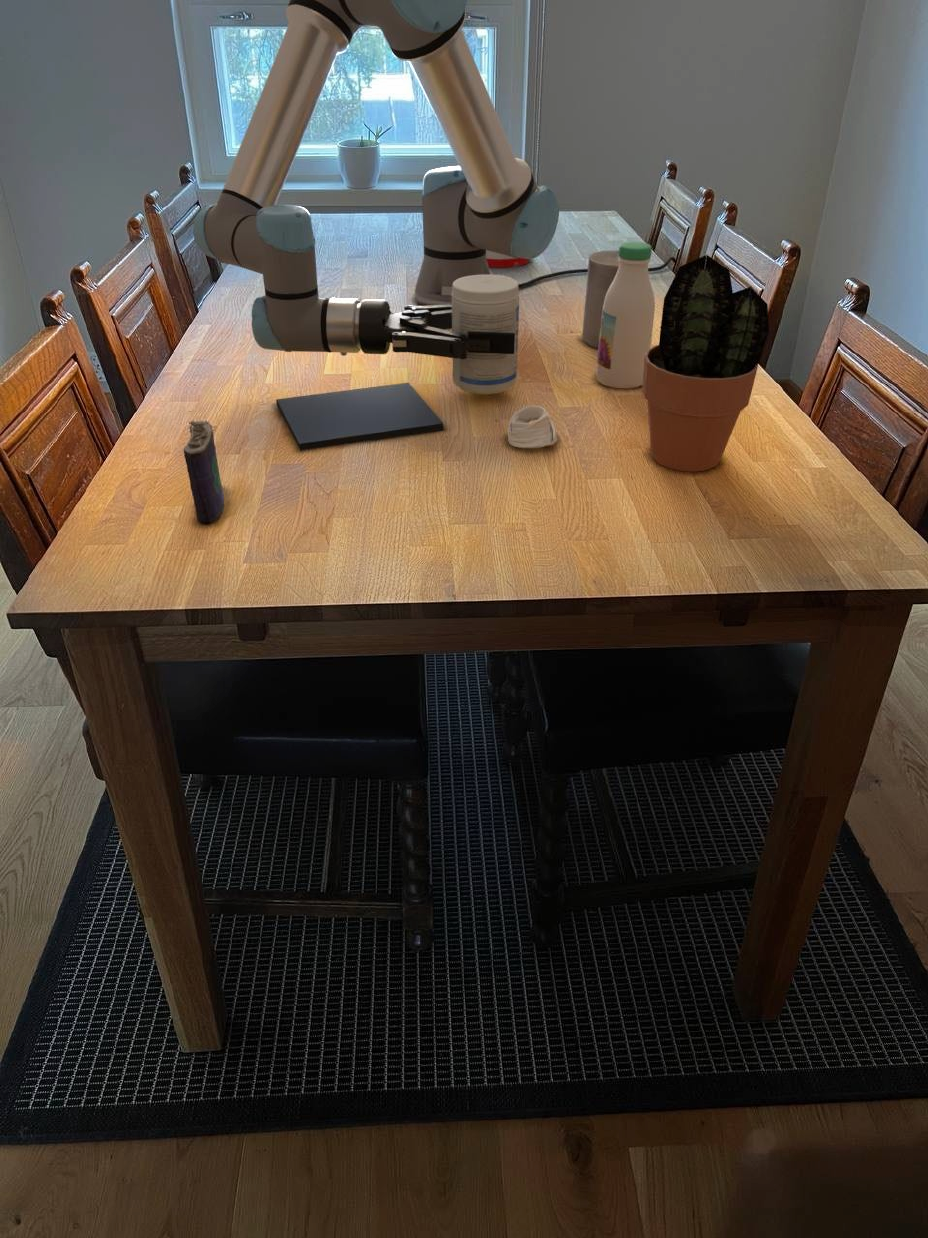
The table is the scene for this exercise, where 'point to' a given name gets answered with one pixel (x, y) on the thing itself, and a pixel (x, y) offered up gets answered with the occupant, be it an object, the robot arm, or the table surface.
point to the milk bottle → (627, 320)
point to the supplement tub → (485, 310)
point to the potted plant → (702, 365)
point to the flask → (204, 473)
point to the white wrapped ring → (531, 428)
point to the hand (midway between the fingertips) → (515, 331)
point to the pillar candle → (598, 292)
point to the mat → (357, 416)
